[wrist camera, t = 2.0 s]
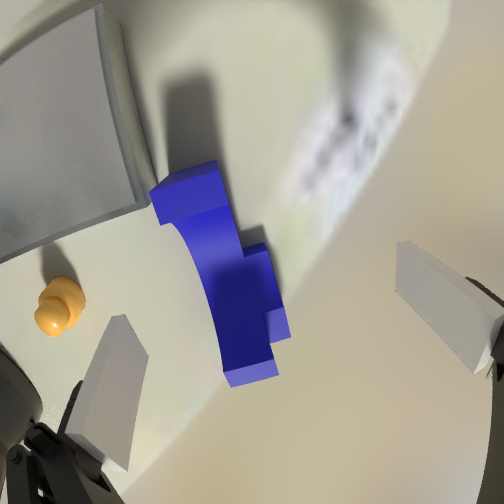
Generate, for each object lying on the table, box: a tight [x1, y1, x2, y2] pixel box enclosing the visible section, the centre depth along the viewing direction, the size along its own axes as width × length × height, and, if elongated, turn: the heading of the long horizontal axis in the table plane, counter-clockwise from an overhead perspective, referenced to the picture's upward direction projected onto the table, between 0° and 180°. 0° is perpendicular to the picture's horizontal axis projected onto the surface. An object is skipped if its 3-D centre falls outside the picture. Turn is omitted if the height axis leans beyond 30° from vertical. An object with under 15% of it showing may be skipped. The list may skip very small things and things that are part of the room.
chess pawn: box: [35, 277, 86, 337], centre depth 16 cm, size 3×3×4 cm
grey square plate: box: [0, 2, 157, 264], centre depth 10 cm, size 14×12×9 cm
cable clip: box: [149, 160, 291, 387], centre depth 16 cm, size 12×4×6 cm, turn 14°
